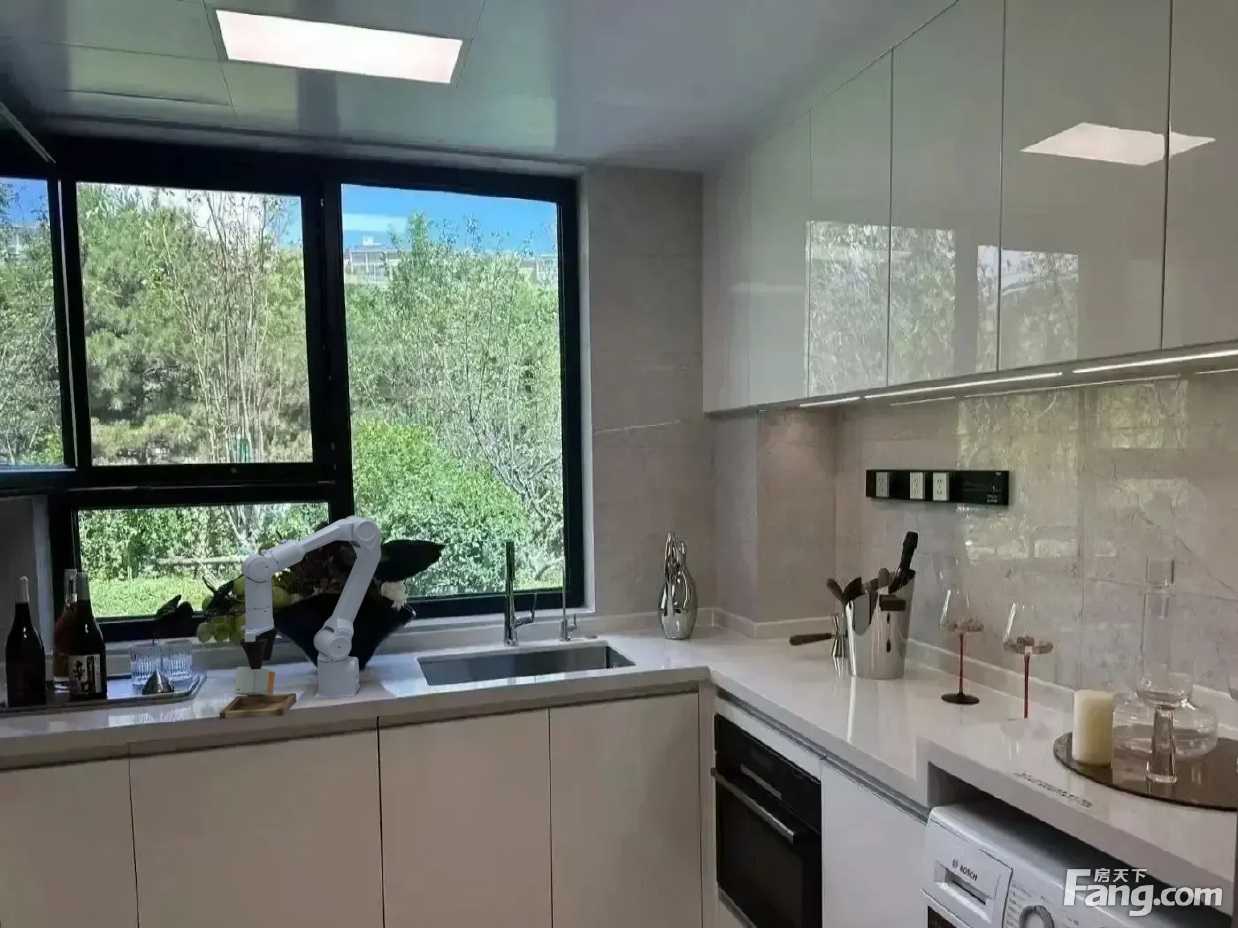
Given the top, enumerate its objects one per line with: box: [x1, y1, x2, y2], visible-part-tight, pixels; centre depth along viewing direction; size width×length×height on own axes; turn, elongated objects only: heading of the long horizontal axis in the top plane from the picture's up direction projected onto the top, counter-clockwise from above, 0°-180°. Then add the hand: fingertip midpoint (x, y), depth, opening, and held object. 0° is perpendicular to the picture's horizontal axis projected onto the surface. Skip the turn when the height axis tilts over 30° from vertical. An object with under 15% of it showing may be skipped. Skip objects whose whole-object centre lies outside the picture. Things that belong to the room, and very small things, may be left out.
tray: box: [219, 692, 297, 720], centre depth 188 cm, size 13×11×2 cm
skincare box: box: [234, 665, 276, 696], centre depth 194 cm, size 6×4×12 cm
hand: (260, 664), depth 191 cm, fingers open, 6 cm apart
